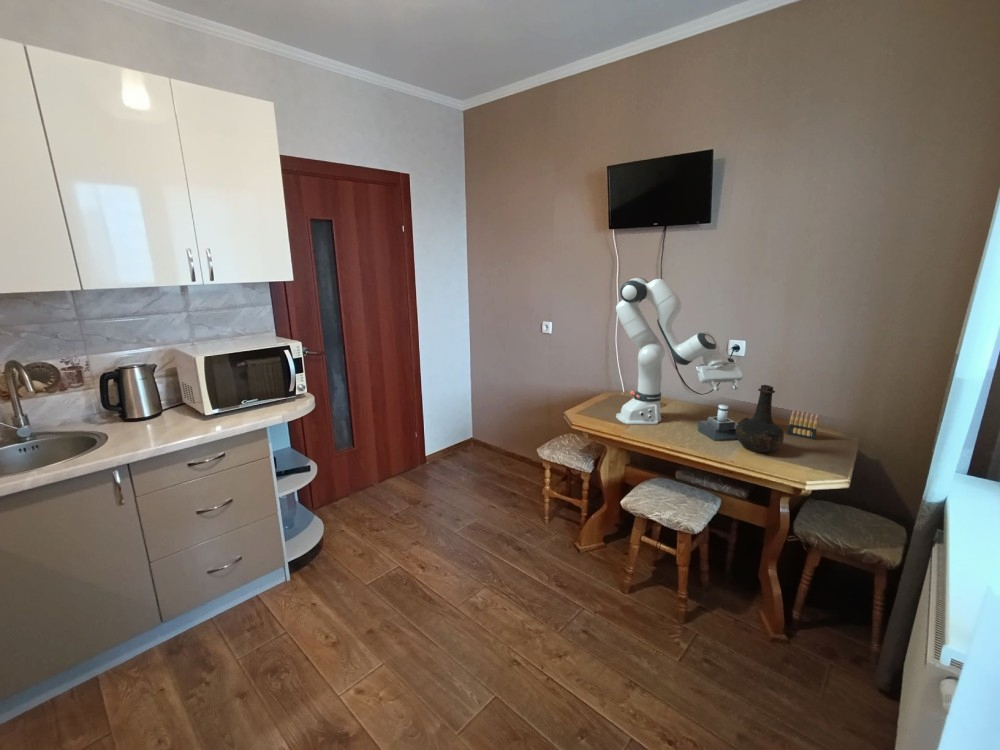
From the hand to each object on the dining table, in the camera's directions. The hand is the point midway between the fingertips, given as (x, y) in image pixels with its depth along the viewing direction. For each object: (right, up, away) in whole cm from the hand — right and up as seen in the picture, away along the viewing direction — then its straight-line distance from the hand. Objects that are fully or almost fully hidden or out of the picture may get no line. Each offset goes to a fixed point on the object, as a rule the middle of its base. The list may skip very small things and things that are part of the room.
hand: (726, 389), depth 197 cm
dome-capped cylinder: (-1, -16, +4) cm, 17 cm away
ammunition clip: (+35, -22, +2) cm, 42 cm away
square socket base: (-1, -21, +5) cm, 22 cm away
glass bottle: (+8, -25, -10) cm, 28 cm away
